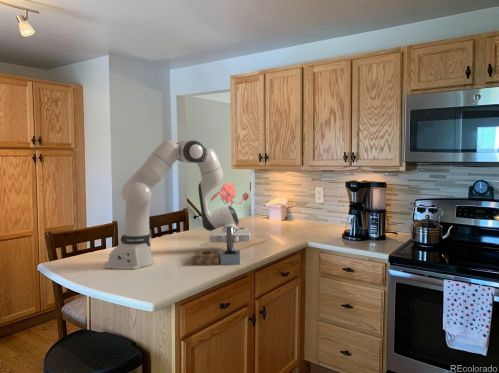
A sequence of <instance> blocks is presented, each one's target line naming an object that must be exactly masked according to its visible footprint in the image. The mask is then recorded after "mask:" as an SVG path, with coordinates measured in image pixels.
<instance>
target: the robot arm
mask: <svg viewBox="0 0 499 373" xmlns="http://www.w3.org/2000/svg"><path fill="white" fill-rule="evenodd" d="M177 161H180V162H183V163H186V164H187V163H188V164H189V163H190V164H191V163H192V164H196V165H197V166H198V168H199V172H200V177H201V180H200V182H199V183H198V196H199V205H200V211H201V224H202V227H203V228H204V229H205V230H206V231H209V232H211V233H210V234H209V242H210V243H226V244H227V226H233V242H234V244H236V243H243V242H247V243H249V242H251V240H252V236H251V235H252V234H251V232H250V231H249V230H248V228H246V227H240V226H239V227H238V221H239V220H238V219H239V218H238V217H239V216H238V214H237V212H236V210H235V208H234V207H232V205H226V206H224V207H220V208H216V209H214V210H210V209H209V204H208V196H209V193H210V192H212V191H213V190H214V189H215V188H217V187H218V186H219V185H220V184H221V182H222V181H223V180H224V179H223V178H224V171H223V169H222V166H221V163H220V159H219V158H218V155H217V153H216V151H215V150H214V149H213V148H209V147H205V146H204V145H203V144H202V143H201V142H200V141H197V140H190V139H186V140H182V141H178V142H177V143H176V142H175V141H173V140H171V139H165V140H164V141H162V142H161V143H160V144H159V145H158V146H157V147H156V148H155V149H154V150H153V151H152V153H151V154H150V155H149V156H148V158H147V159H146V160H145V162H143V164H142V165H141V166H140V168H139V169H138V170H136V172H135V173H134V174H133V175H131V177H130V178H129V179H128V181H127V182H126V183H125V184H124V185H123V186H122V189H121V197H122V199H123V200H124V201H125V216H124V234H122V235H121V237H120V239H119V240H120V242H121V243H120V244H118V245H117V246H116V247H115V248H113V249H112V250H111V252H110V253H109V256H108V260H107V261H106V262H104V264H103V268H104V269H111V268H112V269H116V270H117V269H118V270H136V269H140V268H143V267H144V268H146V267H149V266H151V265H153V264H154V263H155V261H154V257H153V254H152V247H151V246H152V245H151V244H152V237H151V233H150V214H151V213H150V210H151V204H152V203H151V202H152V196H153V193H152V189H153V188H154V187H155V186H157V184H159V183H160V182H161V181H162V180H163V179H164V177H165V176H166V175H167V173H168V172H169V170H170V169H171V167H173V165H174V163H175V162H177ZM220 228H222V230H221V232H218V231H217V232H212V231H215V230H217V229H220Z"/></svg>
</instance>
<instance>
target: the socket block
mask: <svg viewBox="0 0 499 373" xmlns="http://www.w3.org/2000/svg"><path fill="white" fill-rule="evenodd" d="M220 265H221V266H222V265H223V266H224V265H227V266H228V265H241V251H240V250H239V249H234V254H227V249H226V250H224V249H223V250H220Z"/></svg>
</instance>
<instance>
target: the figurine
mask: <svg viewBox="0 0 499 373" xmlns="http://www.w3.org/2000/svg"><path fill="white" fill-rule="evenodd" d="M218 195H219V196H220V199H221V201H223V203H224V205H227V204H230V206H232V205H233V203H234V204H238V205H241V204H242V203H243V201H247V200H248V199H249V197H250V196H249V193H248V192H244V193H243V195H242V199H241V201H240V202H237V201H234V200H233V199H236V198H237V194H236V189H235V184H234V183H231V182H227V183H226V182H224V183H223V186H221V187H220V191H217V192H216V193H215V194H214V195H213V196H212V197H211V199H210V202H211V201H213V200H215V198H217V196H218ZM237 227H239V228H240V219H239V218H238V225H237Z"/></svg>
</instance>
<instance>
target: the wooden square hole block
mask: <svg viewBox="0 0 499 373" xmlns="http://www.w3.org/2000/svg"><path fill="white" fill-rule="evenodd" d="M219 264H220V250H193V253H192V266H217V265H218V266H219Z"/></svg>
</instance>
